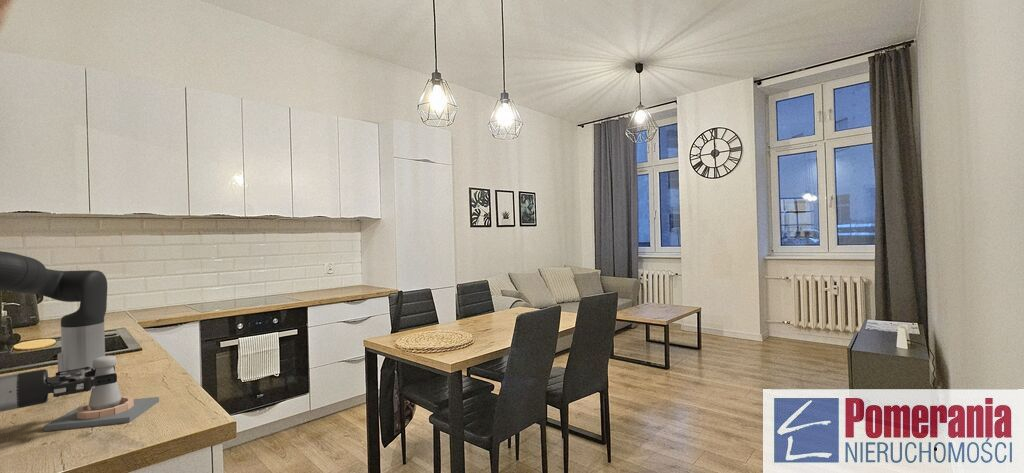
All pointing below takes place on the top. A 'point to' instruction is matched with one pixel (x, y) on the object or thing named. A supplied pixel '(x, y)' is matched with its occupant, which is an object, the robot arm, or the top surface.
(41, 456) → the top surface
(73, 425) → the holder
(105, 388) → the salt shaker
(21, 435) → the top surface
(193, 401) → the top surface
